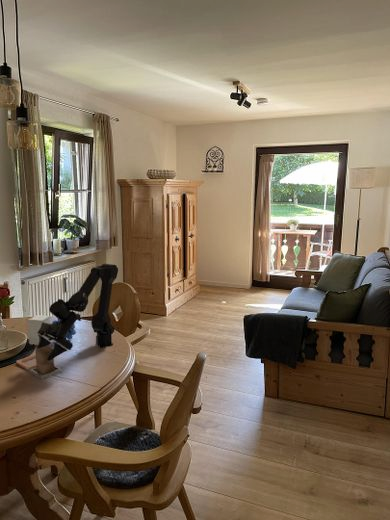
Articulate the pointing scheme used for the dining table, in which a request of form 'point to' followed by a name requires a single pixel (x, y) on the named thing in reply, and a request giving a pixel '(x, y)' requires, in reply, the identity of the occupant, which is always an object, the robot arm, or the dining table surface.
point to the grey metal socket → (45, 374)
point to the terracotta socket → (26, 360)
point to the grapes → (69, 335)
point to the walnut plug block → (44, 360)
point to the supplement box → (36, 327)
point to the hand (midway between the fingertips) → (42, 357)
